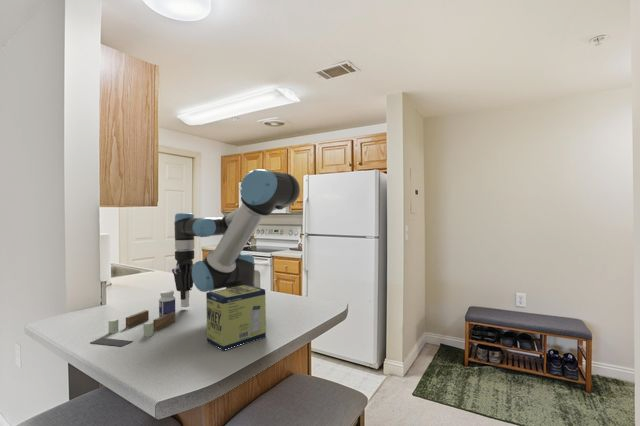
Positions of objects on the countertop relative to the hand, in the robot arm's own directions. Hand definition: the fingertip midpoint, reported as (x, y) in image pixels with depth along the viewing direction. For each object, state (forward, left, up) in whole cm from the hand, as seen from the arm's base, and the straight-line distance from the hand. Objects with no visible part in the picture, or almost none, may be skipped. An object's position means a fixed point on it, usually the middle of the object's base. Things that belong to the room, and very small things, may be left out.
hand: (184, 306), depth 135 cm
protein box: (-37, +25, -2) cm, 44 cm away
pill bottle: (0, +11, -2) cm, 11 cm away
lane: (0, +19, -1) cm, 19 cm away
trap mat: (0, +36, -1) cm, 36 cm away
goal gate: (0, +28, -1) cm, 28 cm away
